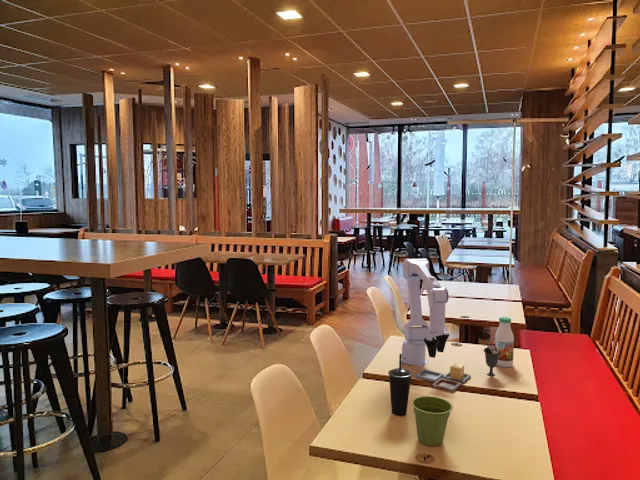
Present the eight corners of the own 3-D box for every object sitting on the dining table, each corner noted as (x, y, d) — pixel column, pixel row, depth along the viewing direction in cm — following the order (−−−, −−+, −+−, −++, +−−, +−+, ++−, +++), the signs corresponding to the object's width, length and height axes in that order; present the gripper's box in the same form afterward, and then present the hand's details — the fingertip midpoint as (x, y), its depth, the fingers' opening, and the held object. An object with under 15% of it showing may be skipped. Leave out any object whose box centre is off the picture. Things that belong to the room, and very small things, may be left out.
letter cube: (449, 378, 197) (450, 365, 197) (453, 375, 201) (454, 362, 200) (460, 380, 195) (460, 368, 194) (463, 377, 198) (464, 365, 198)
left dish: (415, 378, 198) (415, 375, 198) (424, 372, 205) (424, 369, 204) (435, 383, 194) (435, 379, 193) (443, 377, 200) (443, 373, 200)
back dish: (442, 380, 197) (443, 376, 197) (450, 374, 203) (450, 370, 203) (463, 385, 192) (463, 381, 192) (470, 378, 199) (470, 374, 199)
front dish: (432, 388, 189) (432, 384, 189) (440, 381, 195) (441, 378, 195) (453, 393, 184) (453, 389, 184) (461, 386, 191) (461, 382, 191)
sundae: (497, 373, 205) (499, 336, 203) (501, 379, 198) (503, 341, 196) (480, 372, 205) (482, 336, 204) (484, 378, 199) (485, 341, 197)
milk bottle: (490, 364, 214) (492, 318, 212) (498, 360, 220) (500, 314, 218) (508, 369, 209) (510, 321, 207) (515, 364, 215) (518, 317, 212)
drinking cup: (412, 409, 171) (414, 351, 169) (408, 419, 164) (410, 359, 162) (389, 406, 173) (391, 349, 171) (385, 416, 166) (386, 356, 164)
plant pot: (425, 454, 143) (427, 416, 141) (402, 435, 154) (403, 399, 152) (460, 446, 147) (461, 408, 146) (435, 428, 158) (436, 393, 157)
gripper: (439, 325, 185) (438, 361, 186) (454, 317, 197) (453, 351, 198) (421, 322, 189) (420, 357, 191) (437, 314, 201) (436, 348, 202)
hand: (436, 354), depth 195 cm, fingers open, 7 cm apart
